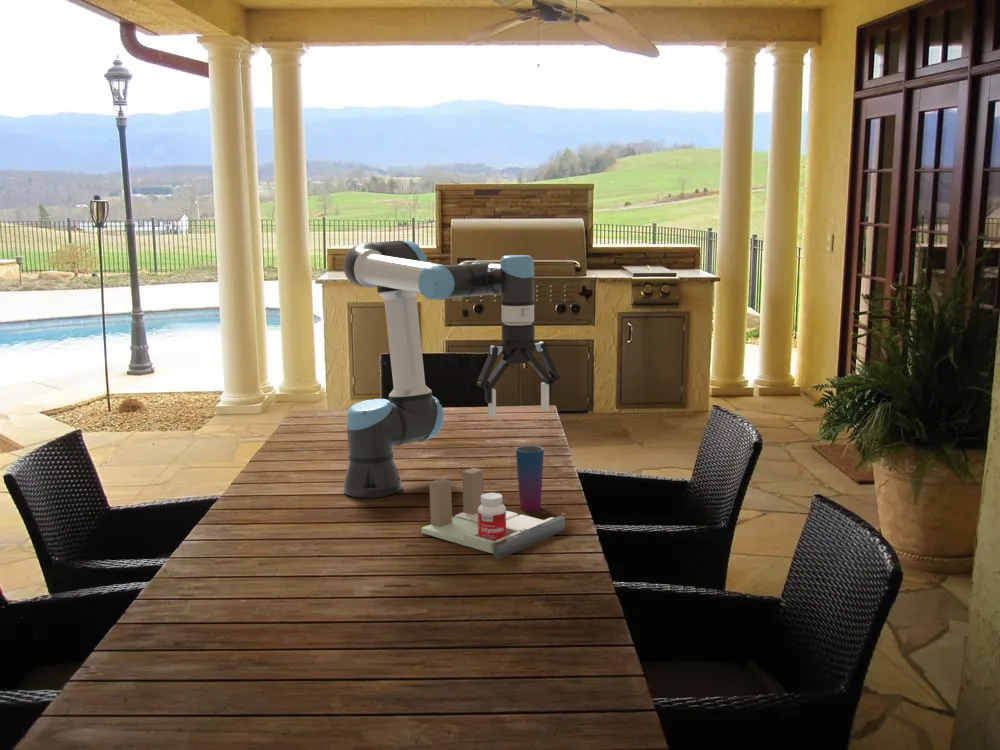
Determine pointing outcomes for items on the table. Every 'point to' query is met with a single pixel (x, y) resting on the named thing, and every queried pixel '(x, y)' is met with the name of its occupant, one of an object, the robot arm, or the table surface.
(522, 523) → the white strip
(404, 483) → the table surface
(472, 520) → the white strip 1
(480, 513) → the pill bottle
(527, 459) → the cup
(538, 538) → the end bar
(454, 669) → the table surface
